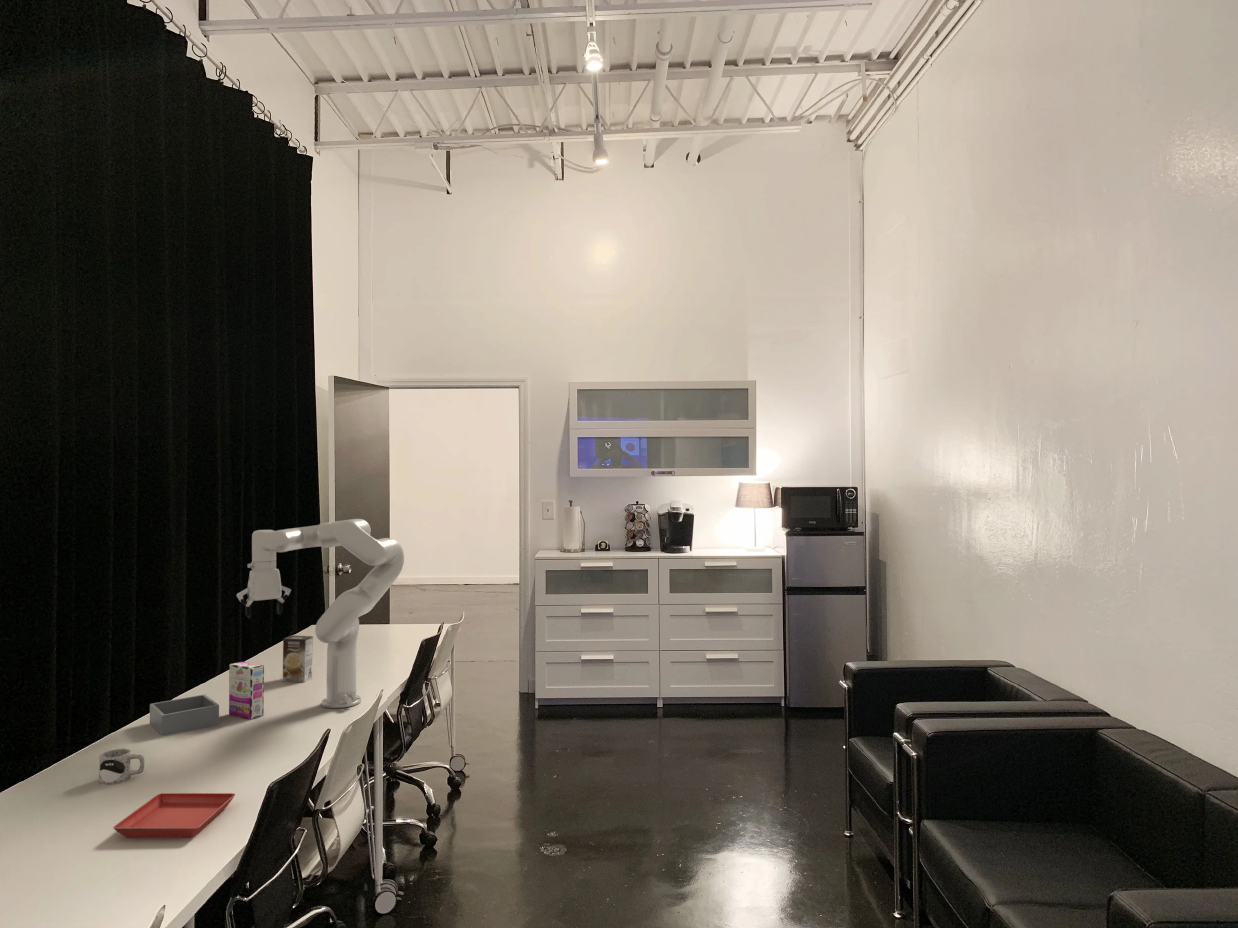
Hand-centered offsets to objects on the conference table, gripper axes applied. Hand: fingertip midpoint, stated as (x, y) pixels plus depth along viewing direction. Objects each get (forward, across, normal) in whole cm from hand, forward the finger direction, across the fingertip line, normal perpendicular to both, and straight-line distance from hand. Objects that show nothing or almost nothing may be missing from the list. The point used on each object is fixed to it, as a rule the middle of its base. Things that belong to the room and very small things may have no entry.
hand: (264, 615), depth 265 cm
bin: (+29, -26, -10) cm, 40 cm away
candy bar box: (+29, -9, -13) cm, 33 cm away
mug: (+29, -47, -48) cm, 73 cm away
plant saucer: (+30, -41, -85) cm, 99 cm away
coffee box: (+29, +17, +21) cm, 40 cm away
